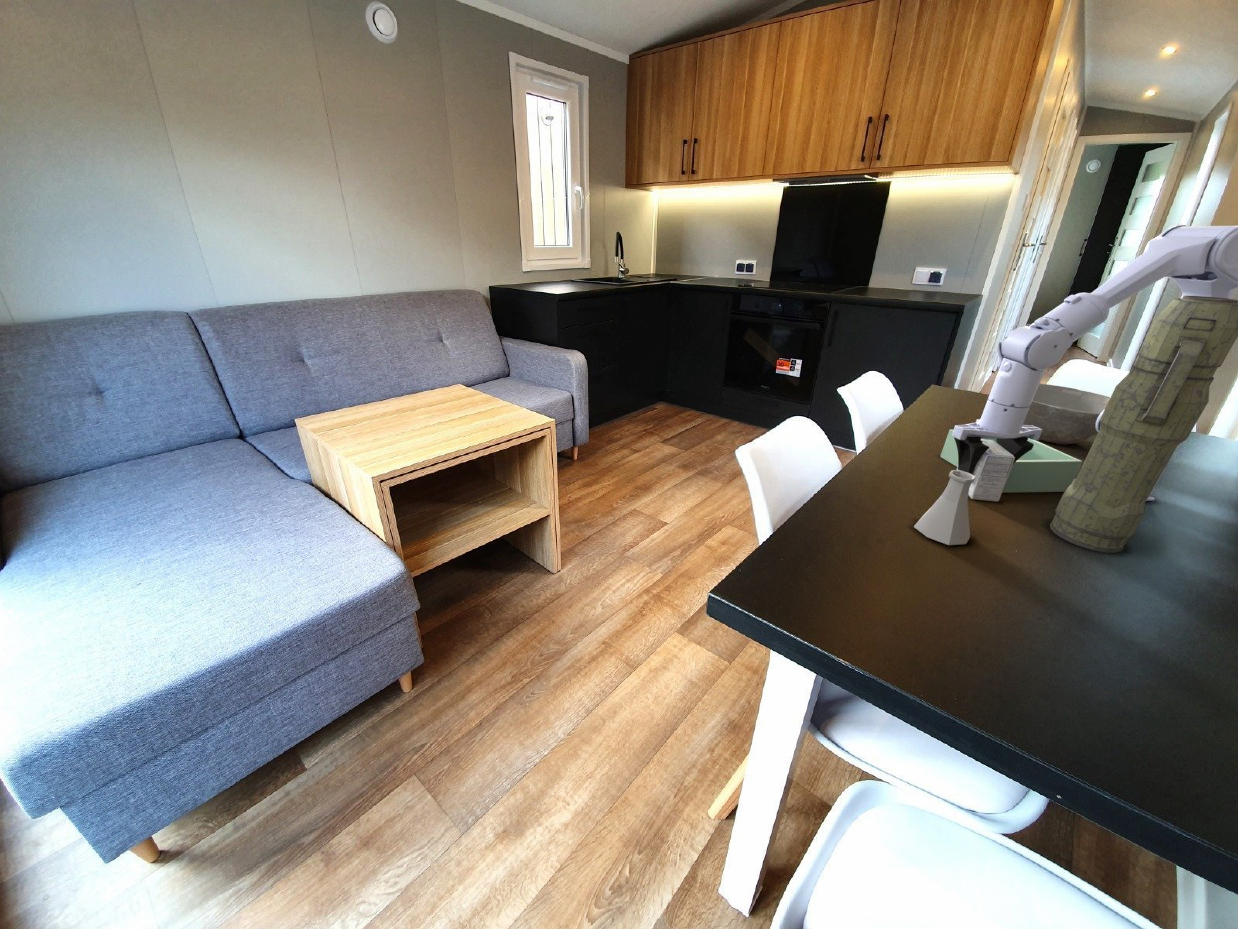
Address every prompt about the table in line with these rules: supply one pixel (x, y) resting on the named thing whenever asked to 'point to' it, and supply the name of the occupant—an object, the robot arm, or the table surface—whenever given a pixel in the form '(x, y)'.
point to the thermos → (1147, 422)
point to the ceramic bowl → (1065, 413)
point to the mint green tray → (1030, 468)
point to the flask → (949, 512)
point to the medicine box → (991, 472)
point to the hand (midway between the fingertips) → (979, 475)
